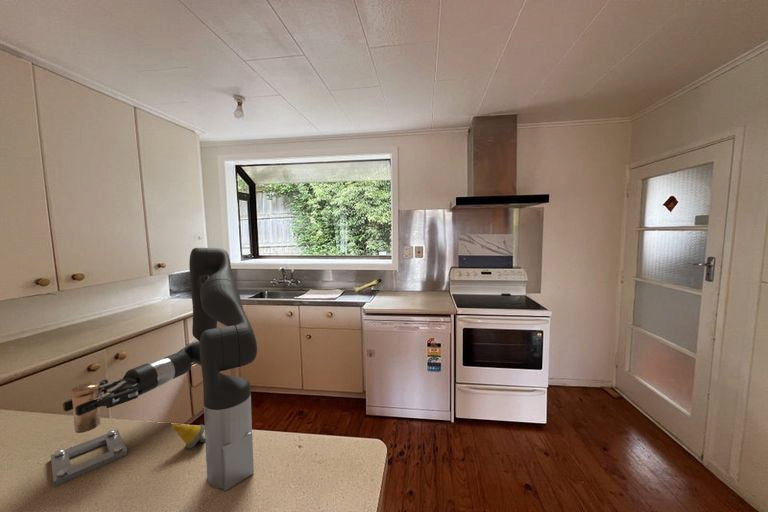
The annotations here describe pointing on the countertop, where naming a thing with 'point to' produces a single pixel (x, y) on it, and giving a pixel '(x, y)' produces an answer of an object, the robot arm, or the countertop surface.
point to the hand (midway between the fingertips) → (70, 409)
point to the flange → (66, 472)
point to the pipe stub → (84, 395)
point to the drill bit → (190, 434)
